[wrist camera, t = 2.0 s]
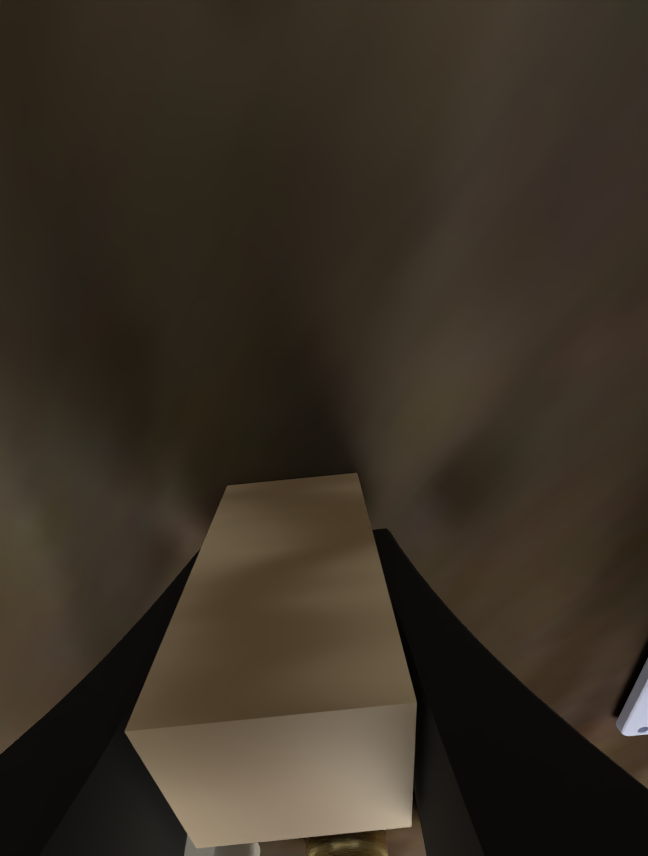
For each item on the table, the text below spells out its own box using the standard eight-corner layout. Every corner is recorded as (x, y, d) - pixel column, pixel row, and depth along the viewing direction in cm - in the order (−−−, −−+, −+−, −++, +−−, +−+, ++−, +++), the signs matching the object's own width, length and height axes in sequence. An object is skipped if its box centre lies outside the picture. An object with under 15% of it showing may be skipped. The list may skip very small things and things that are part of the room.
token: (383, 808, 20) (391, 862, 18) (384, 842, 22) (391, 893, 20) (301, 817, 20) (300, 871, 18) (310, 849, 22) (310, 901, 20)
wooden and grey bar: (357, 472, 10) (416, 702, 4) (374, 783, 18) (403, 1004, 12) (227, 485, 10) (124, 731, 4) (302, 790, 18) (299, 1014, 12)
